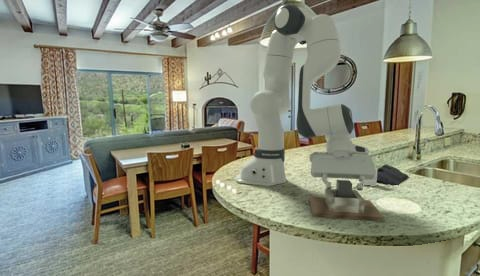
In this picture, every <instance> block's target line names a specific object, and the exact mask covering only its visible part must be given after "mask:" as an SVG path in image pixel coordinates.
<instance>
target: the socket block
mask: <svg viewBox="0 0 480 276" xmlns="http://www.w3.org/2000/svg"><path fill="white" fill-rule="evenodd" d="M308 199H309V205H310V209H311V210H310V211H311V213H312V217H315V218H316V217H319V218H328V219H330V218H333V219H346V220H348V219H349V220H363V221H364V220H365V221H374V222H375V221H376V222H384V221H385V219H384V218H385V217H384V216H383V214H382V213H381V212H380V211H379V209H378V208H377V207H376V206H375V204H374V203H373V202H372V201H371V200H369V199H364V198H363V196H362V195H361V194H360V193H359V192H358V190H357V189H352V198H339V197H336V188H331V189H326V187H325V188H324V197H321V196H320V197H319V196H309V198H308Z"/></svg>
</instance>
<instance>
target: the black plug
mask: <svg viewBox="0 0 480 276" xmlns="http://www.w3.org/2000/svg"><path fill="white" fill-rule="evenodd" d="M335 186H336V187H335V189H336V197H339V198H352V190H353V183H352V182H351V181H350V179H336V184H335Z"/></svg>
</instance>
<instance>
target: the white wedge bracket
mask: <svg viewBox="0 0 480 276" xmlns="http://www.w3.org/2000/svg"><path fill="white" fill-rule="evenodd" d="M375 169H376V175H375V177H374V178H373V179H372V180H367V179H365V180H364V182H363V184H364V185H371V186H370V187H372V186H376V187H377V169H378V168H376V167H375ZM364 185H363V186H364Z"/></svg>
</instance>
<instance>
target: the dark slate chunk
mask: <svg viewBox="0 0 480 276" xmlns="http://www.w3.org/2000/svg"><path fill="white" fill-rule="evenodd" d="M408 178H409V175H408V174H406V173H405V172H402V171H400V169H398V168H397V167H394V166H391V165H389V164H386V163H385V164H383V165H382V166H380V167H378V168H377V181H379V182H378V183H381V182H382V184H385V185H388V184H390V185H389V186H394V185H398V186H400V185H401V184H402V183H404V181H406V180H407V179H408Z"/></svg>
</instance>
